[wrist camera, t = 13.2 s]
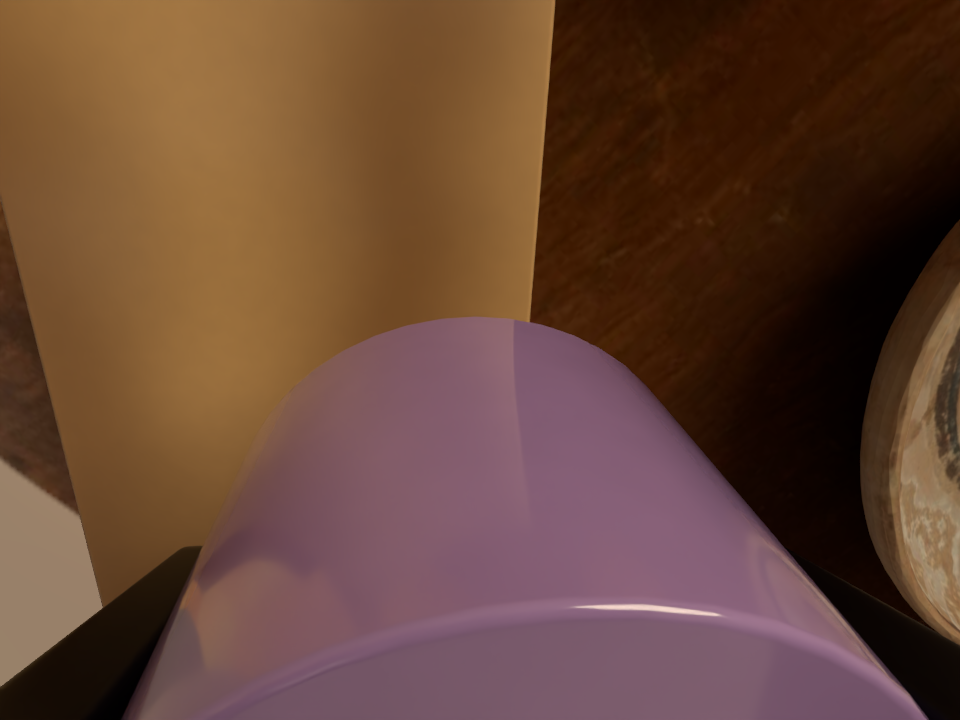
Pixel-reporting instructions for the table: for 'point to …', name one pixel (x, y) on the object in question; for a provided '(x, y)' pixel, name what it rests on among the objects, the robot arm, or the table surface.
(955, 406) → the ceramic bowl
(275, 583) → the lavender cylinder puck
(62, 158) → the block
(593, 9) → the table surface
